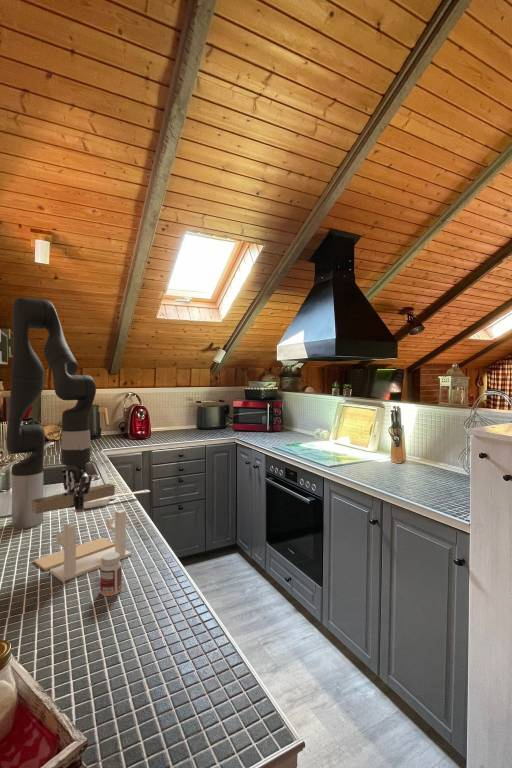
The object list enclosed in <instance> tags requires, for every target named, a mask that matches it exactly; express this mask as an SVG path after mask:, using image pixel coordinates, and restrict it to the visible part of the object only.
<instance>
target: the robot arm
mask: <svg viewBox="0 0 512 768" xmlns="http://www.w3.org/2000/svg"><path fill="white" fill-rule="evenodd" d="M11 311H12V313H11V314H12V316H11V317H12V357H11V358H12V359H11V360H12V361H11V372H10V389H9V390H10V396H9V397H10V398H9V399H10V400H9V402H10V403H9V413H8V421H7V430H6V439H5V445H6V446H5V447H6V449H7V452H8V453H9V454H11V455H12V454H13V455H16V454H17V455H18V454H28V453H30V455H29V456H27V457H25V459H23V460H21V461H19V462H16V463H15V464H13V465H12V467H11V527H13V529H28V528H32V527H36V526H39V525H41V524H42V523H43V522H44V512H43V513H39V514H36V513H34V512H32V500H35V499H39V498H44V464H45V461H44V460H45V458H44V455H45V439H46V438H45V437H46V436H45V428H44V427H43V425H41V424H37V423H36V424H22V421H23V419H24V416H25V415H26V413H27V412H28V410H29V408H30V407H31V406H32V405H33V404H34V403H35V402H36V401H37V399H38V398H39V396H40V395H41V394H42V392H43V390H44V382H45V368H44V366H43V363H42V362H41V360H40V358H39V357H38V355H37V354H36V352H35V351H34V349H33V347H32V345H31V342H30V337H29V329H34V330H35V329H36V330H38V329H41V330H43V329H44V330H46V331H47V333H48V337H47V339H46V341H45V344H44V348H43V353H44V357H45V360H46V361H45V362H46V363H47V364H48V366H49V368H50V370H51V373H52V379H53V385H54V393H55V395H56V396H57V398H58V399H60V400H63V401H77V402H76V403H75V406H73V407H71V408H67V409H64V411H63V412H62V415H61V438H60V462H61V464H62V465H63V466H65V468H63V469H60V474H61V477H62V478H61V479H62V484H63V488H64V489H63V490H64V491H66V493H67V492H72V491H74V493H75V505H72V506H69V507H70V508H72V507H74V509H75V510H77V511H79V510H82V509H84V508H83V507H84V495H85V494H88V492H89V488H90V486H91V483H92V479H93V475H91V474H87V468H86V466H87V464H89V463H90V462H91V432H90V415H91V411H92V408H93V404H94V400H95V397H96V394H97V393H96V392H97V384H96V382H95V379H94V378H93V377H92V376H91V375H87V374H76V373H77V372H78V370H79V364H78V362H77V360H76V358H75V356H74V355H73V353H72V351H71V349H70V347H69V345H68V342H67V341H66V338H65V334H64V331H63V328H62V325H61V324H62V323H61V321H60V319H59V316H58V312H57V310H56V308H55V306H54V304H53V303H52V302H51V301H50V300H48V299H42V298H33V297H20V296H19V297H17V298H16V299H15V300H14V302H13V305H12V310H11Z"/></svg>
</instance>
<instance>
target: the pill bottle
mask: <svg viewBox="0 0 512 768" xmlns="http://www.w3.org/2000/svg"><path fill="white" fill-rule="evenodd" d="M122 571H123V570H122V562H121V560H120V554H119V553H117V552H110V553H106V554H104V555H103V556H102V564H101V566H100V568H99V576H100V577H99V585H100V586H99V589H100V590H99V592H100V594H101V596H104V597H111V596H116V595H118V594H119V593H120V592H121V591H122V582H123V581H122V580H123V579H122V574H123V573H122Z"/></svg>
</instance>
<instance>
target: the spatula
mask: <svg viewBox="0 0 512 768" xmlns="http://www.w3.org/2000/svg"><path fill="white" fill-rule="evenodd" d="M149 492H151V490H149V489H143V490H138V491H132V492H126V493H125V492H124V493H119V494H118V493H117V494H115V495H113V496H109V497H105V498H101V499H97V500H92V501H88V502H84V507H83V508H82V509H92V508H96V507H98V508H99V507H105V506H107V505H108V506H109V503H110V499H112V498H117V497H123V496H130V495H137V494H147V493H149Z"/></svg>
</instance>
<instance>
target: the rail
mask: <svg viewBox="0 0 512 768" xmlns="http://www.w3.org/2000/svg"><path fill="white" fill-rule="evenodd" d="M115 492H116V489H115V484H113V483H104V484H100V485H95V486H91V487H90V488H89V492H88V494H85V495H84V502H88V501H92V500H97V499H101V498H105V497H109V496H113V495H116V494H115ZM72 505H75V493H74V491H72V492H67V491H66V492H63V493H59V494H58V493H57V494H54V495H49V496H45V497H44V496H43V498H39V499H35V500H32V512H34V513H36V514H39V513H43V514H44V513H47V512H50V511H54V510H58V509H62V508H63V509H64V508H68V507H70V506H72Z"/></svg>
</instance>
